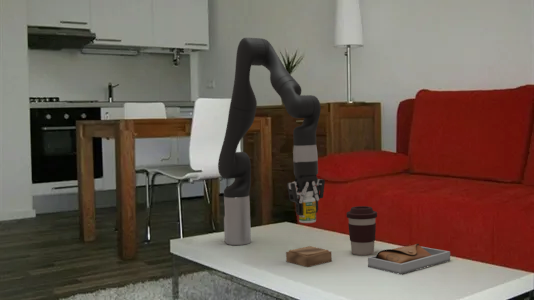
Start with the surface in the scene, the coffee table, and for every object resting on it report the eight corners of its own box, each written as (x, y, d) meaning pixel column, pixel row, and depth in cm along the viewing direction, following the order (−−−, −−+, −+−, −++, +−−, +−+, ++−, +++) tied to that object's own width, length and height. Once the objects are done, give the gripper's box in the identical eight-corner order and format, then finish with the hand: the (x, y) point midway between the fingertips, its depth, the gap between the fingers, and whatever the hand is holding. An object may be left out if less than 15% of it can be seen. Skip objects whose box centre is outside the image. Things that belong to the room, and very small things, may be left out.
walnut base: (286, 261, 188) (286, 250, 188) (310, 256, 194) (309, 245, 194) (307, 267, 180) (307, 255, 180) (331, 261, 186) (331, 250, 186)
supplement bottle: (309, 219, 190) (308, 189, 190) (319, 221, 186) (318, 191, 185) (295, 221, 187) (294, 191, 187) (305, 223, 183) (304, 192, 182)
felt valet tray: (368, 266, 178) (367, 257, 178) (416, 254, 192) (416, 245, 191) (401, 274, 168) (401, 264, 168) (450, 260, 182) (450, 251, 181)
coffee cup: (341, 253, 196) (340, 208, 195) (358, 248, 203) (357, 204, 202) (367, 257, 189) (365, 210, 188) (384, 252, 196) (382, 206, 196)
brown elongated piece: (396, 267, 172) (387, 245, 174) (381, 275, 177) (373, 254, 179) (438, 257, 181) (429, 237, 184) (423, 265, 187) (415, 245, 189)
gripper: (314, 157, 193) (316, 210, 194) (279, 161, 184) (281, 215, 185) (330, 158, 187) (332, 212, 188) (295, 161, 178) (297, 218, 179)
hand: (307, 213), depth 187 cm, fingers closed on supplement bottle, 5 cm apart
